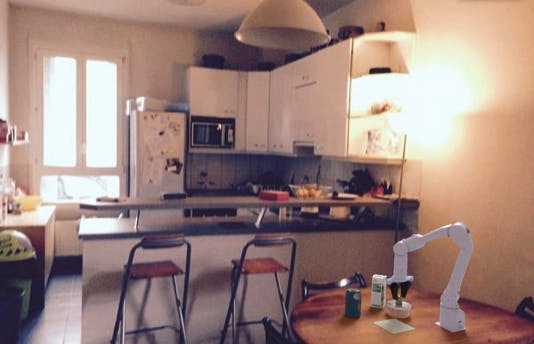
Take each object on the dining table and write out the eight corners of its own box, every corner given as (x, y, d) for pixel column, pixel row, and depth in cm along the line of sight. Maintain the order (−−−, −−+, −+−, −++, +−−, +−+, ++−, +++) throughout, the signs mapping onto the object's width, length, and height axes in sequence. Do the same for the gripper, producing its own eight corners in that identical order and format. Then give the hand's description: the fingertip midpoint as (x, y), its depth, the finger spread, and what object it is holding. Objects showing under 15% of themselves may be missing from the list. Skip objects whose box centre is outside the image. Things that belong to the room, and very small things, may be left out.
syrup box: (370, 307, 202) (371, 276, 201) (373, 303, 207) (374, 273, 207) (382, 309, 199) (384, 278, 199) (385, 305, 205) (387, 275, 204)
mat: (415, 329, 178) (415, 328, 178) (393, 334, 172) (393, 333, 172) (394, 319, 188) (394, 318, 188) (373, 323, 183) (373, 322, 183)
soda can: (362, 319, 187) (363, 292, 186) (346, 319, 187) (347, 291, 186) (358, 313, 194) (359, 287, 193) (343, 312, 194) (344, 286, 193)
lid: (417, 309, 190) (417, 298, 190) (397, 312, 186) (397, 301, 185) (400, 300, 200) (400, 290, 200) (380, 303, 196) (381, 293, 196)
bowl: (413, 317, 191) (413, 308, 191) (397, 320, 187) (398, 311, 187) (398, 310, 199) (398, 301, 199) (383, 313, 195) (383, 304, 195)
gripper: (405, 264, 199) (404, 293, 200) (381, 267, 192) (380, 297, 193) (417, 268, 193) (416, 298, 193) (393, 271, 186) (391, 302, 187)
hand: (398, 298), depth 193 cm, fingers open, 5 cm apart
